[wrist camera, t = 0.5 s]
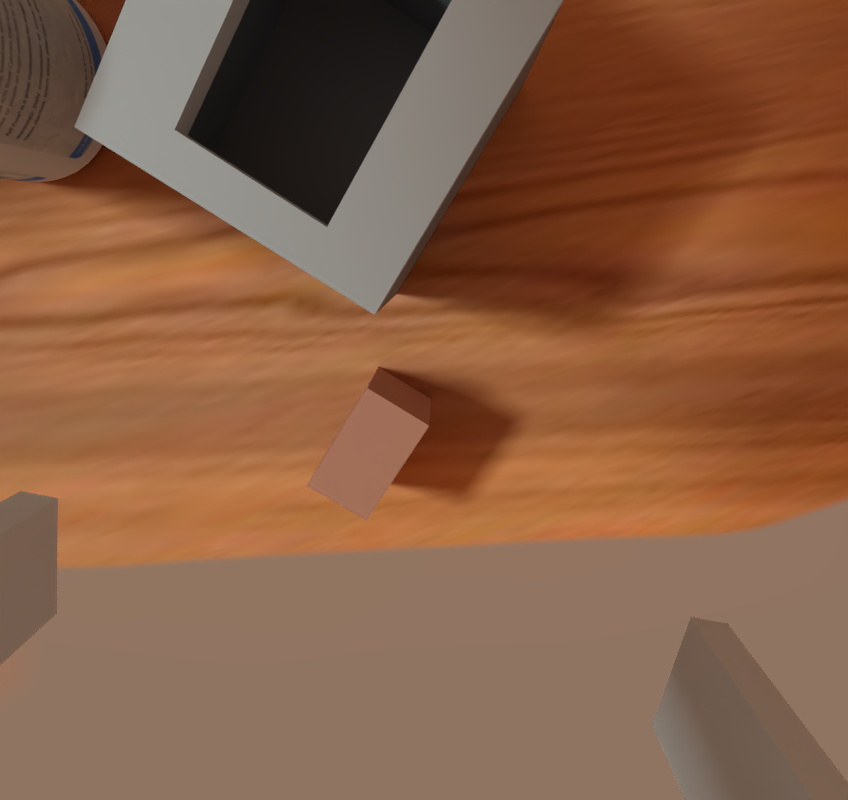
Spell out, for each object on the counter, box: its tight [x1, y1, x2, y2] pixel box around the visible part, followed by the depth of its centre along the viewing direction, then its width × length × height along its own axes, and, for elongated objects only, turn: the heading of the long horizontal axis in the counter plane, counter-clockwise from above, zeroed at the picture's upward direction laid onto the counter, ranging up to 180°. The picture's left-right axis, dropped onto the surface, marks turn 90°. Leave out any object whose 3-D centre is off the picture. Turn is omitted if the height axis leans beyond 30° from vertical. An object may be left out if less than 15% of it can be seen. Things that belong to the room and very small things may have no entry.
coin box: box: [74, 0, 564, 315], centre depth 23 cm, size 12×12×10 cm
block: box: [307, 367, 431, 520], centre depth 30 cm, size 6×4×5 cm, turn 148°
